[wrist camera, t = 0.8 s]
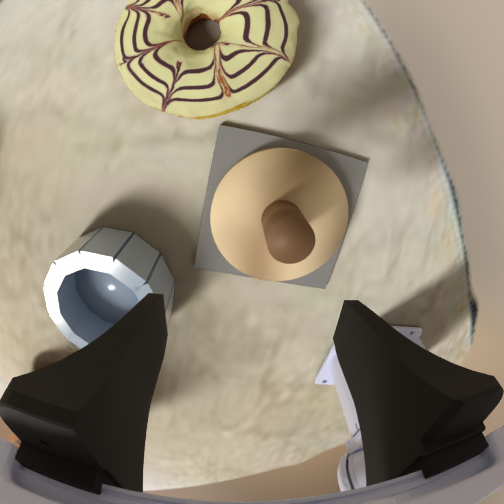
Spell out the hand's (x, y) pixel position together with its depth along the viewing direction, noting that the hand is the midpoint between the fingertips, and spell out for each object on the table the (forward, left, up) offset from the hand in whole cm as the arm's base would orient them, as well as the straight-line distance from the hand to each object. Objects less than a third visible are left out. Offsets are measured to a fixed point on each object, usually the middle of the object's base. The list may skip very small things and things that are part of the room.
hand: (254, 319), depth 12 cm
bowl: (+9, +6, -10) cm, 15 cm away
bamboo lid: (-2, -2, -10) cm, 10 cm away
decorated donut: (+5, -12, -10) cm, 17 cm away
